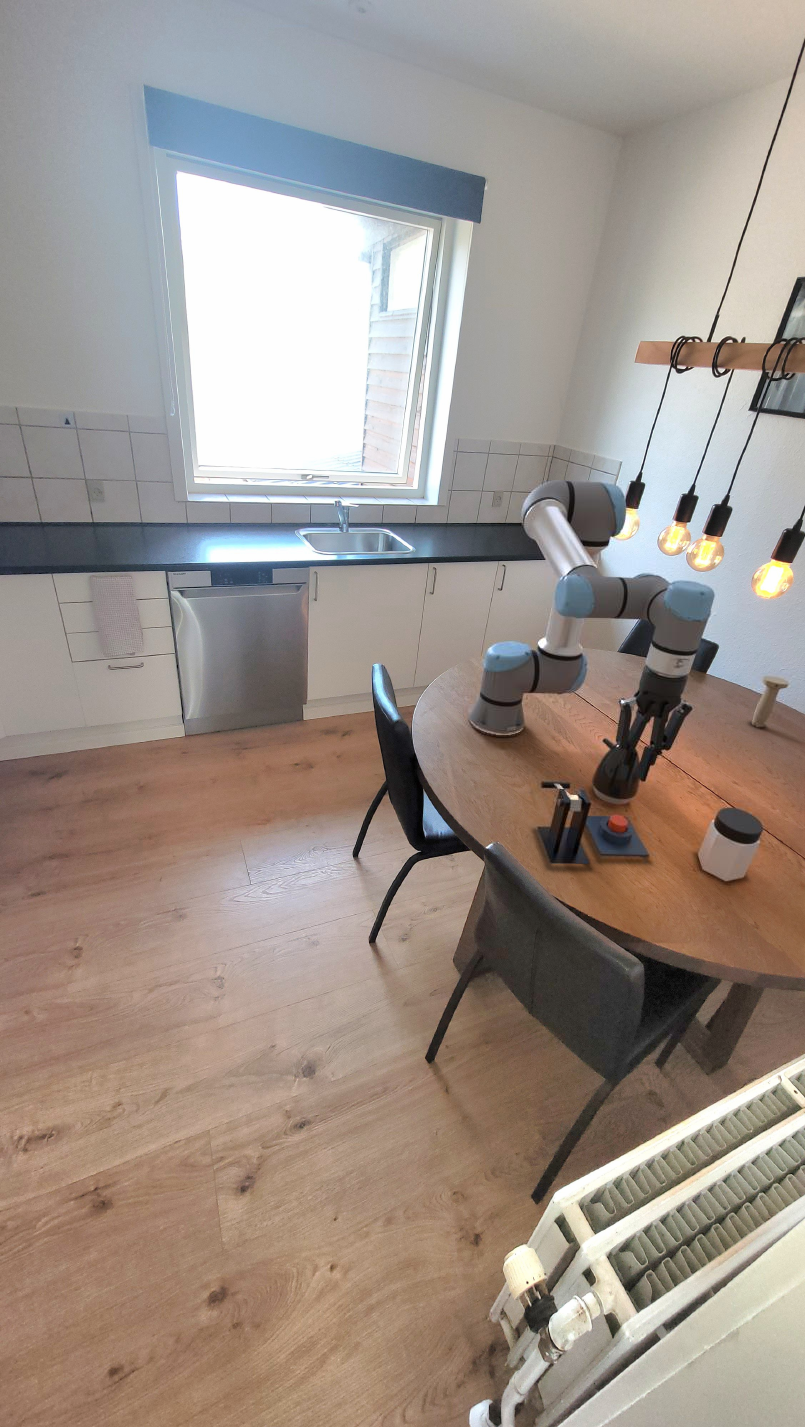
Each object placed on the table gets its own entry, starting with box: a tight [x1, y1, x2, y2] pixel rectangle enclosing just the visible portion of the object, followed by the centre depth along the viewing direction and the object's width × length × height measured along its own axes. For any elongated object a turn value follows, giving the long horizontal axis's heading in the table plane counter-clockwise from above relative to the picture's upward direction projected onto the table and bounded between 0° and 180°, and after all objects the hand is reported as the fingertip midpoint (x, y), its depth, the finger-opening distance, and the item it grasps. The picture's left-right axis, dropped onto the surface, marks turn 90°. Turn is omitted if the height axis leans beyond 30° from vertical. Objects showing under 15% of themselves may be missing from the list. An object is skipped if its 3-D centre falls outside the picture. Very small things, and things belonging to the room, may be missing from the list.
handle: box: [751, 675, 790, 728], centre depth 171 cm, size 5×6×15 cm
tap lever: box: [540, 780, 582, 812], centre depth 120 cm, size 13×6×2 cm, turn 2°
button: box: [608, 814, 628, 833], centre depth 122 cm, size 4×4×2 cm
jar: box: [697, 807, 764, 882], centre depth 117 cm, size 9×8×12 cm
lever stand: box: [536, 788, 592, 865], centre depth 117 cm, size 11×8×14 cm
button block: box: [585, 815, 650, 857], centre depth 123 cm, size 12×10×4 cm
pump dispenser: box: [591, 737, 641, 806], centre depth 134 cm, size 10×10×15 cm
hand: (632, 777), depth 116 cm, fingers open, 3 cm apart
